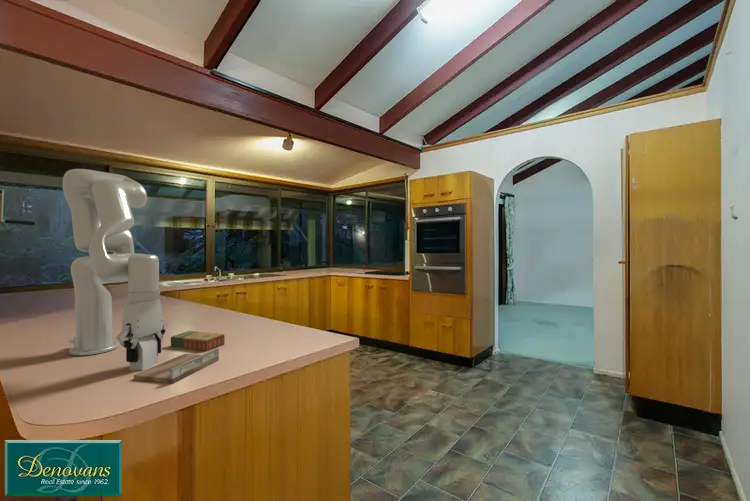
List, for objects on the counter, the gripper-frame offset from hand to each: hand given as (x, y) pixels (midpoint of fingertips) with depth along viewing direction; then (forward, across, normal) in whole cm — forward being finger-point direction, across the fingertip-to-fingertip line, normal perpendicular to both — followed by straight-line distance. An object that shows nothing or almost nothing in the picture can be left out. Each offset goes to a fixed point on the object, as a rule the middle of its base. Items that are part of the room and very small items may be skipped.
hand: (144, 356), depth 99 cm
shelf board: (+3, 0, +12) cm, 12 cm away
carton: (+3, -21, +1) cm, 21 cm away
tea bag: (+3, 0, 0) cm, 3 cm away
